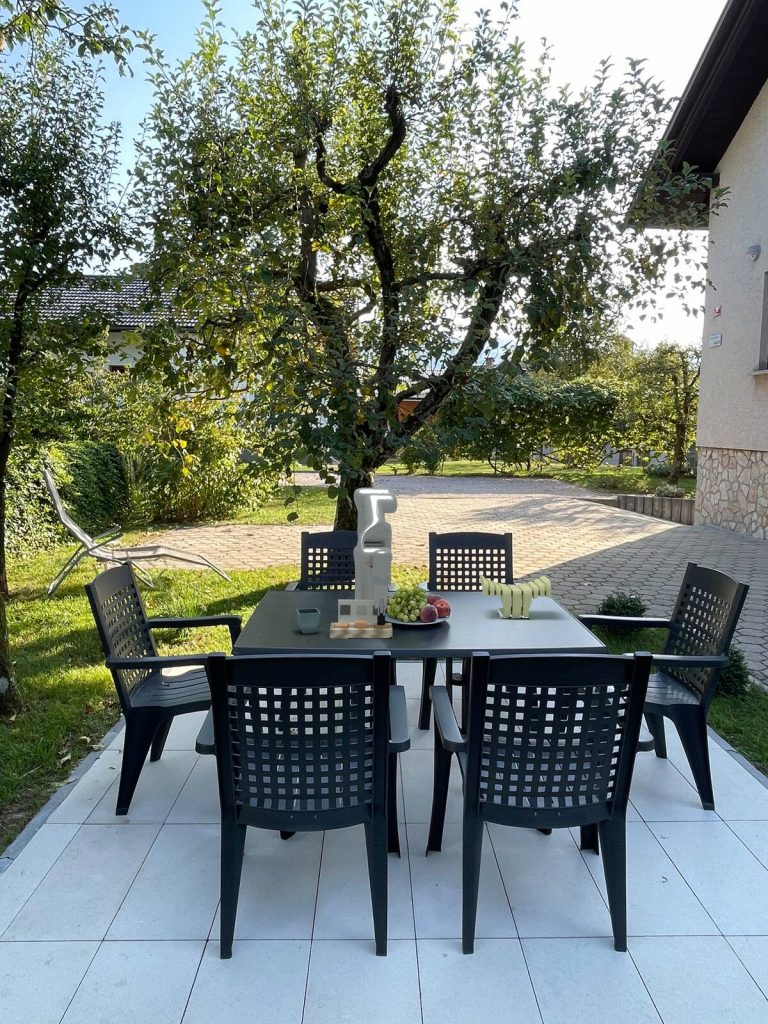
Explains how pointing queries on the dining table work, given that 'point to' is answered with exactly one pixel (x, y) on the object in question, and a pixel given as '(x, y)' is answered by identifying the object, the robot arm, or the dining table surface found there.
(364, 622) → the middle key
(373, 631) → the key board
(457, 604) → the dining table surface
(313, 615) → the flower pot
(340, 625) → the key
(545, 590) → the slatted curved stool
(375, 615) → the pattern sign
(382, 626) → the key
